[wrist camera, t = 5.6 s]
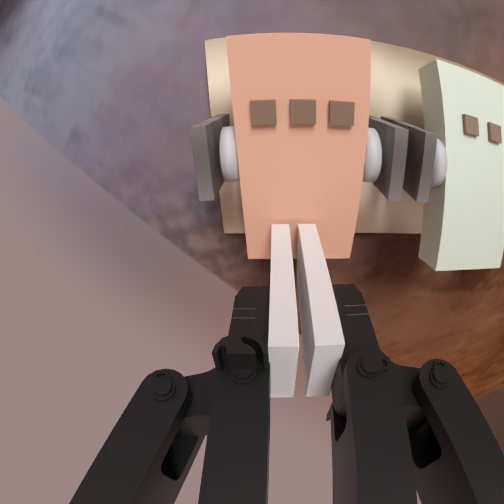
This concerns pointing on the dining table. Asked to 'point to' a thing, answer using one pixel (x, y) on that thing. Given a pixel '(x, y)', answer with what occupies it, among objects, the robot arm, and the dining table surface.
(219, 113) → the pastel toggle block board
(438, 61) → the key two
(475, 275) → the dining table surface
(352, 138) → the key three
